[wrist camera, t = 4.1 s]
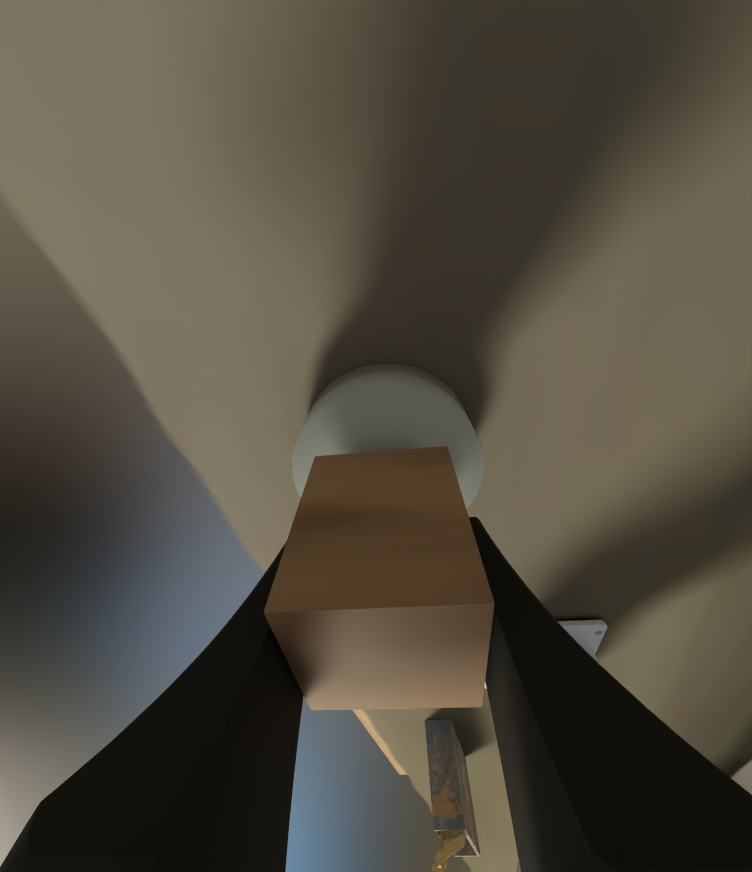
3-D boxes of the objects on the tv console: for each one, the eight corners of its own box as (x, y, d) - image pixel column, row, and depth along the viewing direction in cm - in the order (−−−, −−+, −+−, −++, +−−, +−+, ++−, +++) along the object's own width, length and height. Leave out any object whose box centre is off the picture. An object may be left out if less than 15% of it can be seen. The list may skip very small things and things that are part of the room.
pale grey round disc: (465, 494, 18) (479, 537, 16) (323, 504, 19) (313, 546, 16) (471, 352, 14) (490, 378, 11) (288, 370, 15) (268, 399, 12)
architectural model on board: (420, 715, 34) (431, 870, 26) (449, 713, 33) (470, 870, 25) (439, 753, 40) (453, 891, 31) (464, 752, 39) (485, 891, 31)
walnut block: (447, 539, 13) (481, 707, 8) (336, 546, 14) (311, 710, 9) (447, 445, 11) (494, 603, 6) (314, 456, 11) (263, 612, 7)
